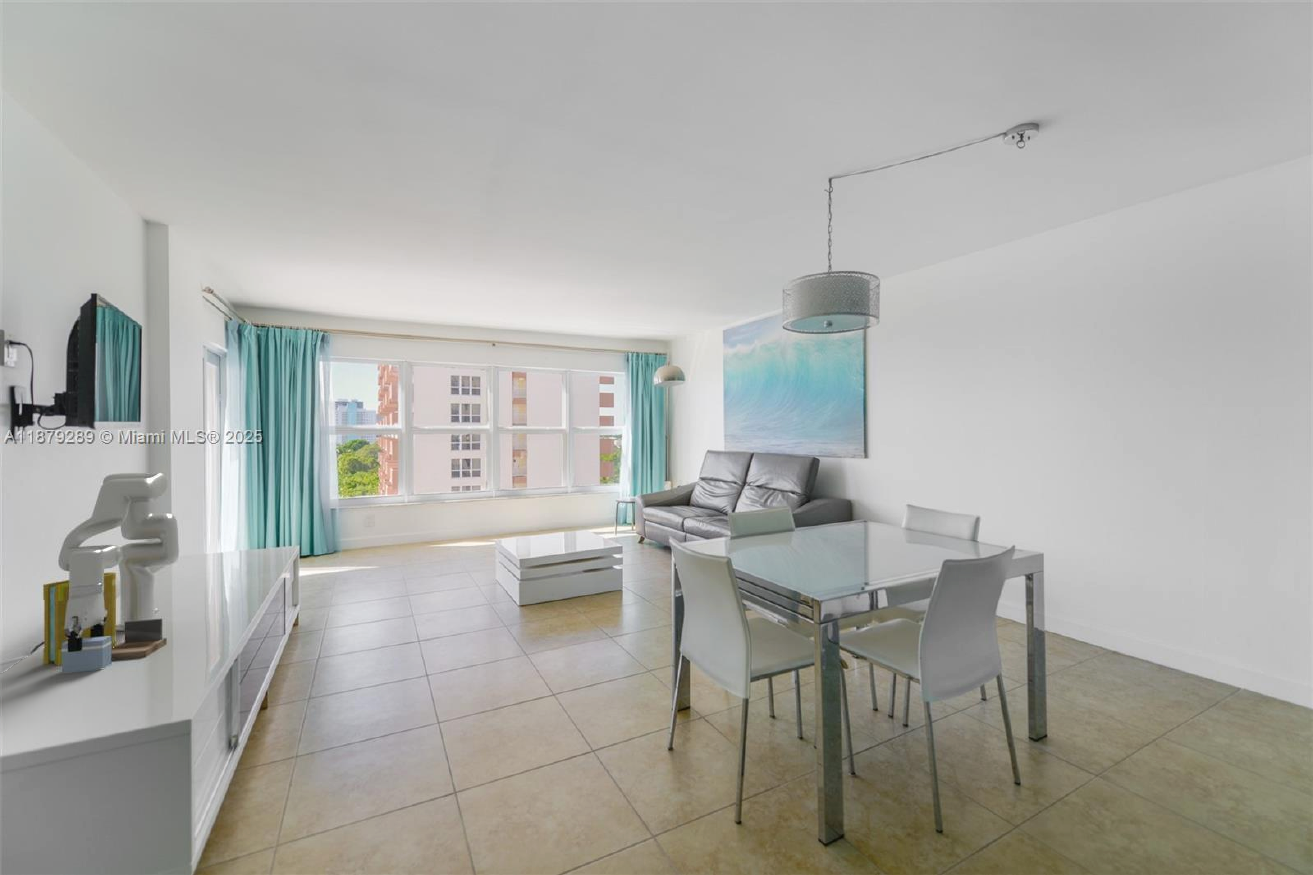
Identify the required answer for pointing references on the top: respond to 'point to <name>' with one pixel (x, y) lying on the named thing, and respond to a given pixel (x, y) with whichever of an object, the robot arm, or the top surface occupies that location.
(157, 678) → the top surface
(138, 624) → the brown l-shaped piece
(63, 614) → the book
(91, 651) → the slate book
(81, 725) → the top surface
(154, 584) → the robot arm
